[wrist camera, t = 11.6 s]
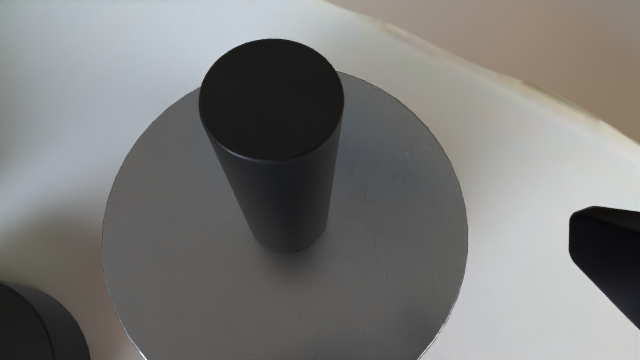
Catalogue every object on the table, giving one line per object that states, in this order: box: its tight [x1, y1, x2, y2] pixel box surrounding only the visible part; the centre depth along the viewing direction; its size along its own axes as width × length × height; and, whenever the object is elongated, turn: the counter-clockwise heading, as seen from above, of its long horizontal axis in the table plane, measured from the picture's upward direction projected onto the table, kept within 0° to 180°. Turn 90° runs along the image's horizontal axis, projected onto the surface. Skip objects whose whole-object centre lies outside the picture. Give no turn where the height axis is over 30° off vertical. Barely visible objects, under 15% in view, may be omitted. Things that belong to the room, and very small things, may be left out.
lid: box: [102, 39, 468, 360], centre depth 12 cm, size 13×13×8 cm
